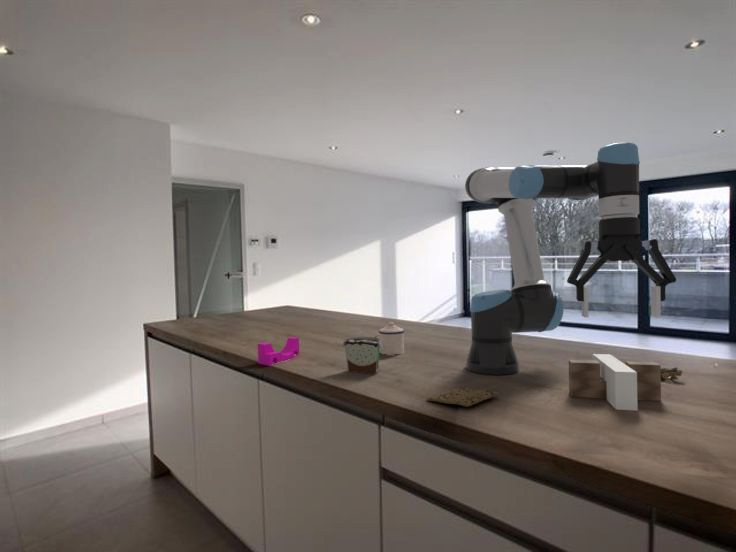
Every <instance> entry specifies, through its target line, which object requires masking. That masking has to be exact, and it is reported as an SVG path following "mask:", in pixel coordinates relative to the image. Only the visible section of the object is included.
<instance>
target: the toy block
mask: <svg viewBox="0 0 736 552" xmlns="http://www.w3.org/2000/svg"><path fill="white" fill-rule="evenodd" d="M294 354H296V355H298V354H299V355H300V337H293V336H291V337H287V339H286V343H285V346H284V348H282V350H281V351H275V350H274V348H273V346H272V343H271V342H259V343H257V362H258V365H263V366H269V367H272V366H273V365H272V364H275V363H277V362H281V361H285V360H288V359H292V358H294V359H295V357H294ZM273 362H274V363H273ZM271 365H272V366H271Z"/></svg>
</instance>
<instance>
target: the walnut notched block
mask: <svg viewBox="0 0 736 552" xmlns="http://www.w3.org/2000/svg"><path fill="white" fill-rule="evenodd" d="M624 364H625V365H627V366H628V367H630V368H631V369H633V370H634V371H636V372H637V401H646V402H647V401H648V402H649V401H650V402H661V401H662V393H661V392H662V388H661V387H662V385H661V383H662V380H661V364H659V363H657V362H655V361H632V360H631V361H628V360H625V361H624ZM568 389H569V390H568V391H569V392H568V393H569V395H570V396H571V398H587V399H588V398H590V399H593V398H594V399H606V400H607V385H606V381H605V380H603V379H602V378H600V363H599V362H598V361H596V360H593V359H591V360H590V359H568Z"/></svg>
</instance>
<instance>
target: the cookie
mask: <svg viewBox="0 0 736 552" xmlns="http://www.w3.org/2000/svg"><path fill="white" fill-rule="evenodd" d="M496 396H498V392H497V391H493V390H488V389H481V390H480V389H471V388H467V387H456V388H453V389H449V390H447V391H444V392H442V393H437V394H436V395H433V396H429V397H426V401H429V402H438V403H442V404H448V405H449V404H450V405H459V406H462V407H466V408H467V407H470V406H473V405H476V404H478V403H481V402H484V401H486V400H487V399H491V398H493V397H496Z"/></svg>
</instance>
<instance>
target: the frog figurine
mask: <svg viewBox="0 0 736 552" xmlns="http://www.w3.org/2000/svg"><path fill="white" fill-rule="evenodd" d="M660 368H661V381H662V380H663V382H661V384H663V385H664V384H665V385H666V384H674V383H675V382H673V381H672V380H679V377H682V373H683V371H682V370H681V369H680V368H679V369H678V367H677V366H674V367H665V366H660Z"/></svg>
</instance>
